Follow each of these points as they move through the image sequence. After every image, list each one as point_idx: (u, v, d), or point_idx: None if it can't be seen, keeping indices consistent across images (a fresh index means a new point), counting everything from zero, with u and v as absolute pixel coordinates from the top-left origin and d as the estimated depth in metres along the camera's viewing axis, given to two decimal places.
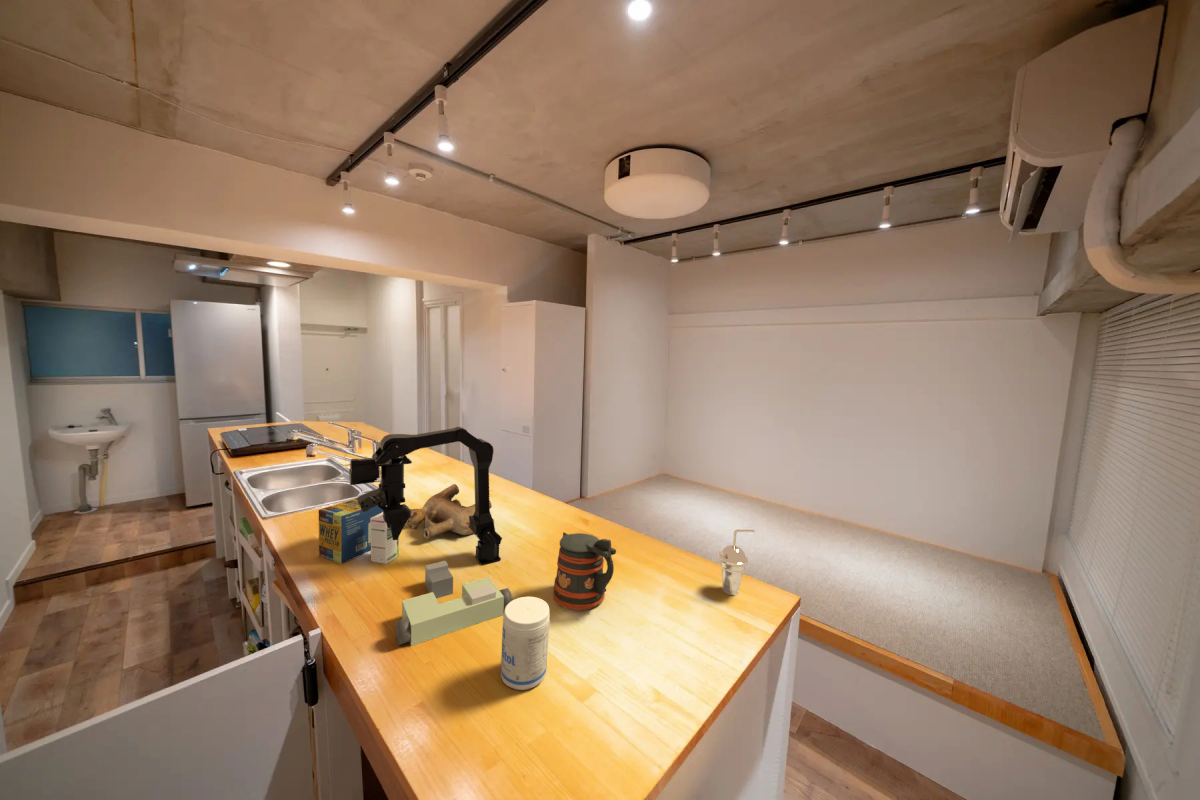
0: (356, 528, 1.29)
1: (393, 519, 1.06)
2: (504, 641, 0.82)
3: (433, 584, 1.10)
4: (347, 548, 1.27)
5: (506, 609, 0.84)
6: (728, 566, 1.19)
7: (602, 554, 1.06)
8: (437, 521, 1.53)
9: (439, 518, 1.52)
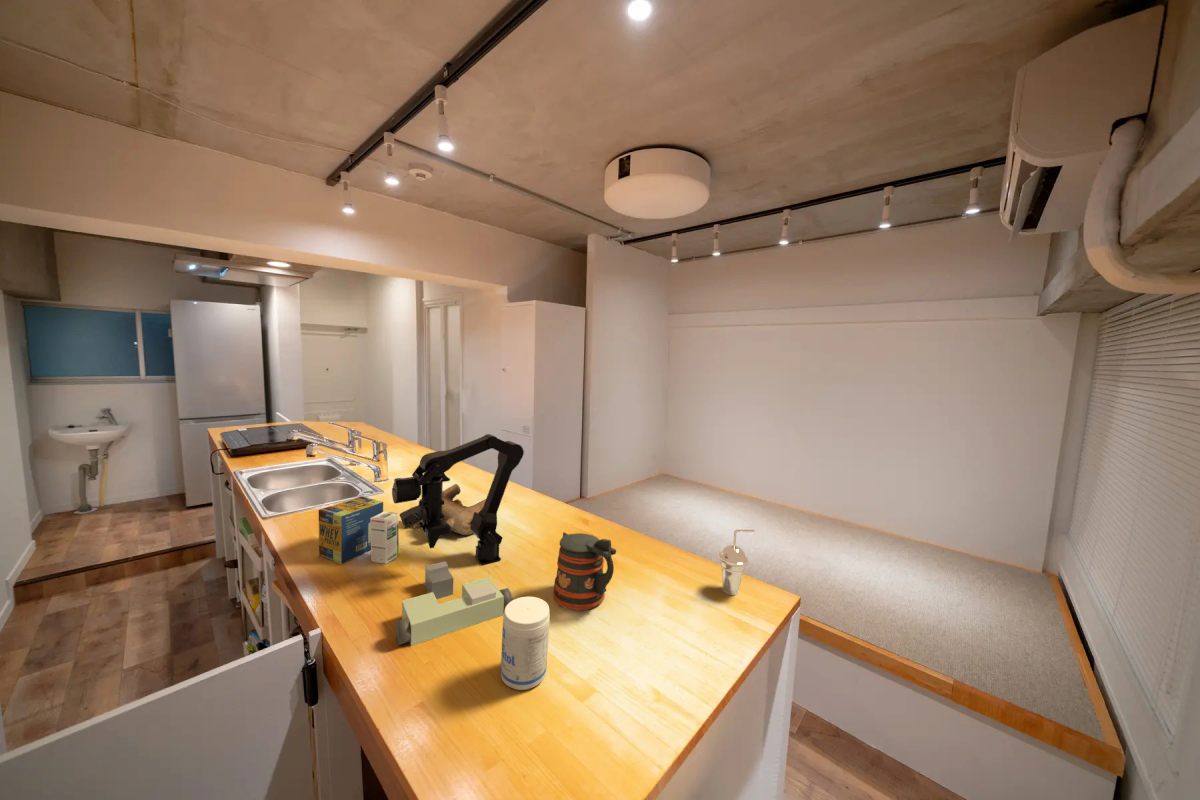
0: (356, 528, 1.29)
1: (435, 535, 1.12)
2: (504, 641, 0.82)
3: (433, 585, 1.09)
4: (347, 548, 1.27)
5: (506, 609, 0.84)
6: (728, 566, 1.19)
7: (602, 554, 1.06)
8: None
9: None
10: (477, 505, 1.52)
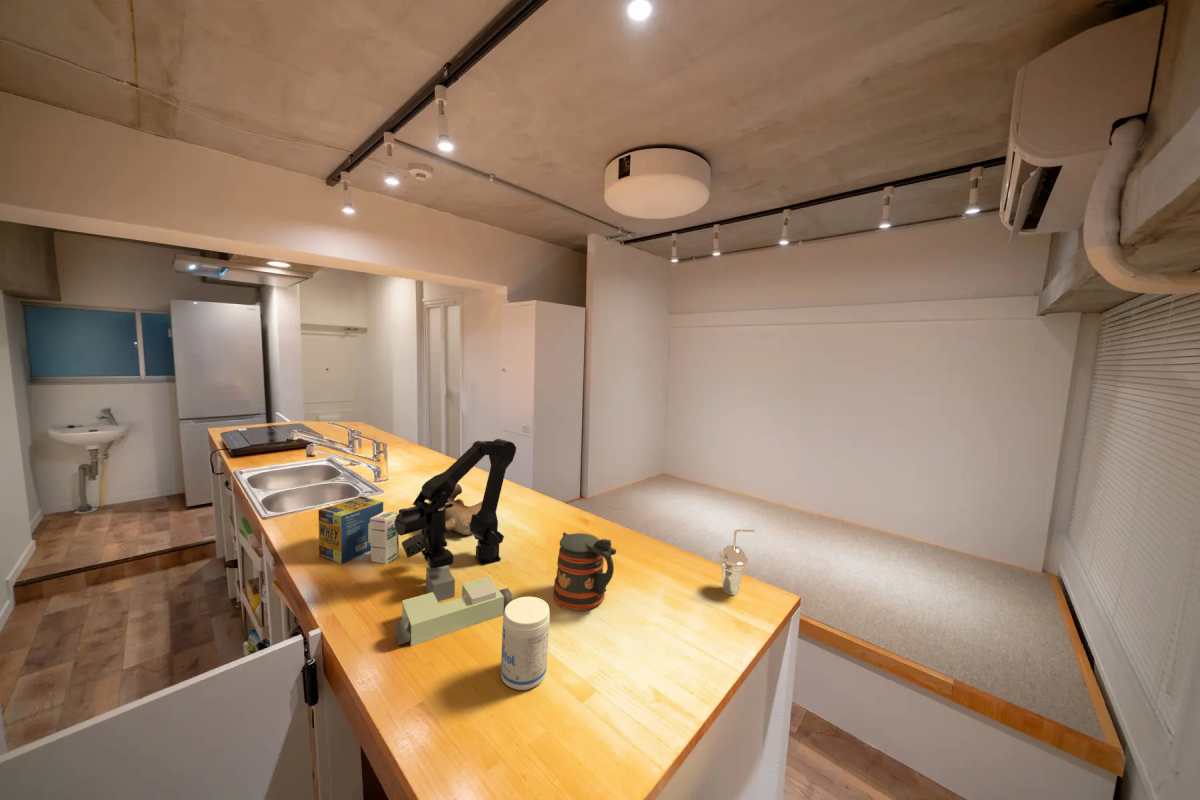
0: (356, 528, 1.29)
1: (438, 566, 1.09)
2: (504, 641, 0.82)
3: (435, 587, 1.08)
4: (347, 548, 1.27)
5: (506, 609, 0.84)
6: (728, 566, 1.19)
7: (602, 554, 1.06)
8: None
9: None
10: (478, 505, 1.52)
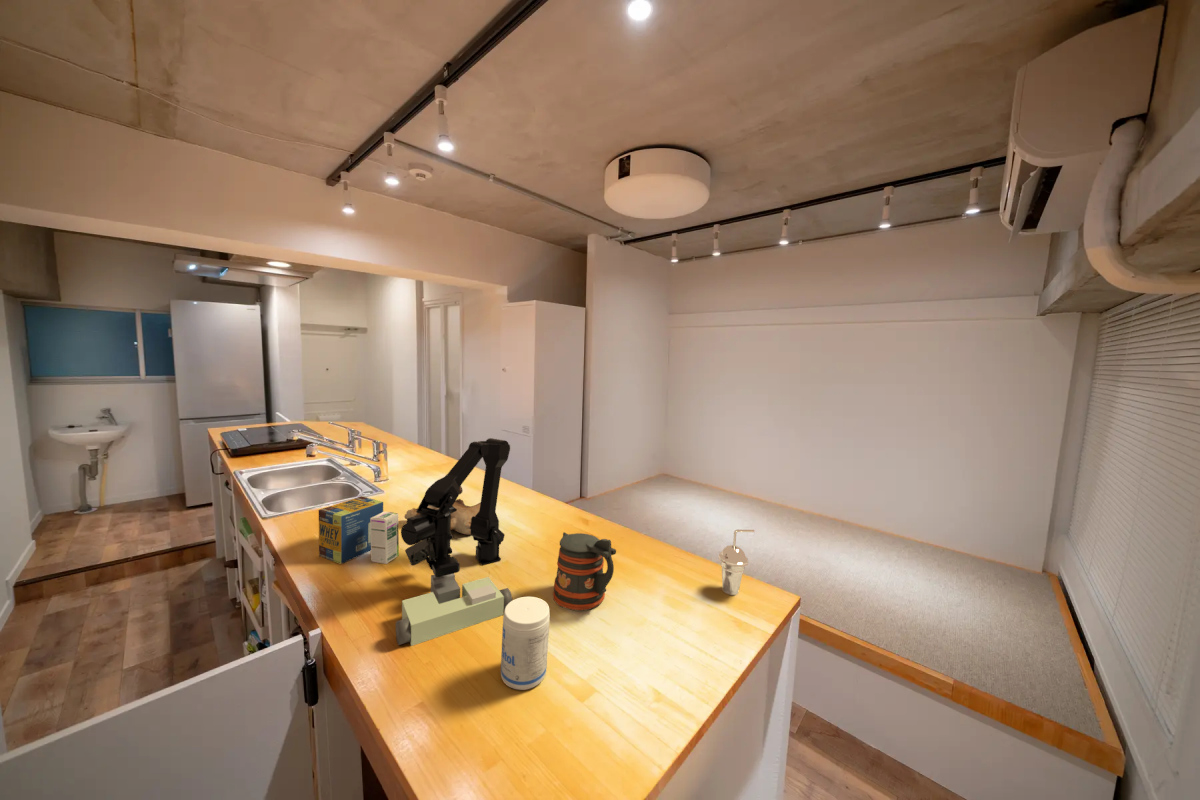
0: (356, 528, 1.29)
1: (443, 574, 1.06)
2: (504, 641, 0.82)
3: (439, 596, 1.04)
4: (347, 548, 1.27)
5: (506, 609, 0.84)
6: (728, 566, 1.19)
7: (602, 554, 1.06)
8: None
9: None
10: (479, 505, 1.52)
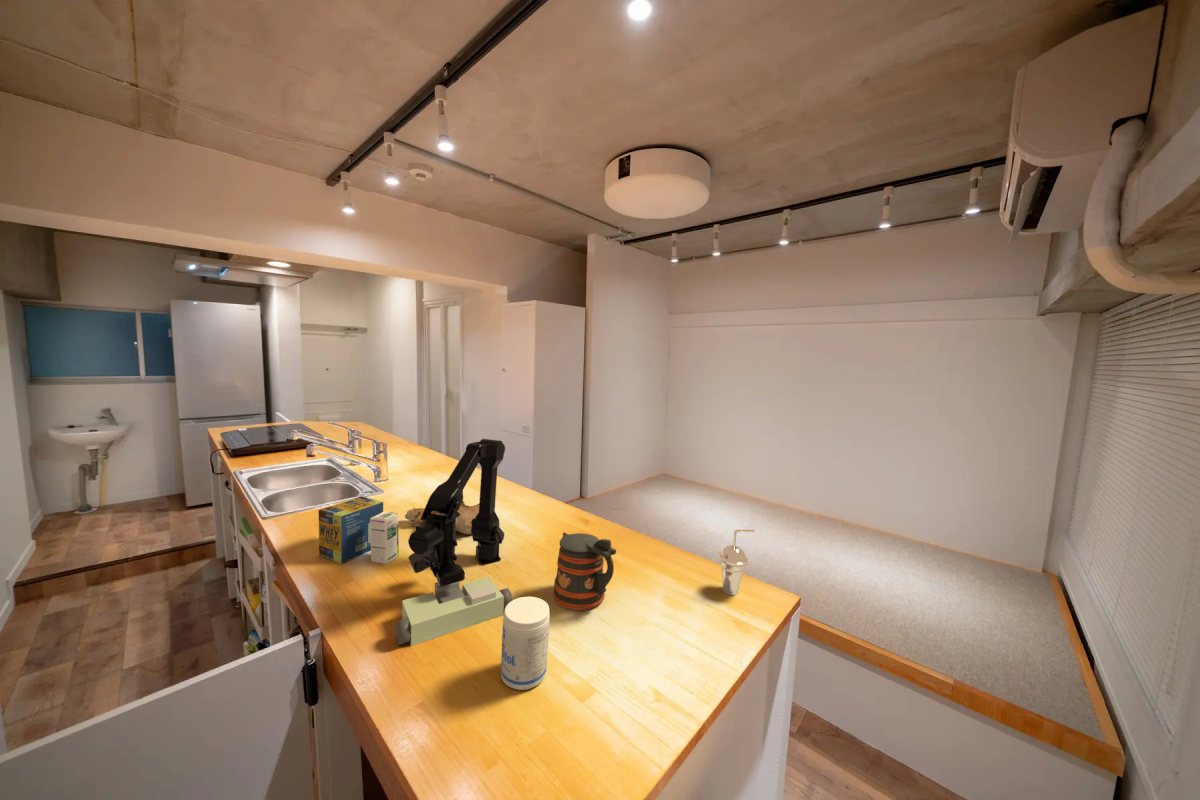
0: (356, 528, 1.29)
1: (448, 583, 1.02)
2: (504, 641, 0.82)
3: None
4: (347, 548, 1.27)
5: (506, 609, 0.84)
6: (728, 566, 1.19)
7: (602, 554, 1.06)
8: None
9: None
10: None
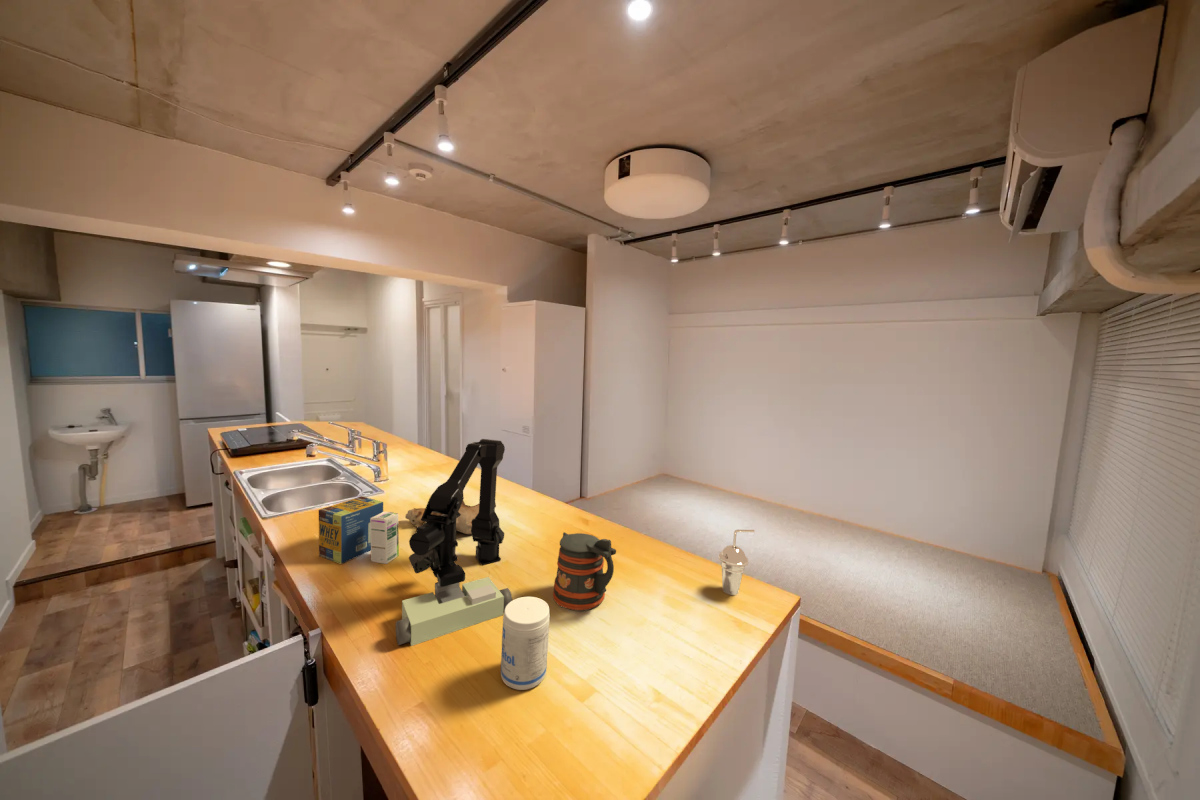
0: (356, 528, 1.29)
1: (448, 583, 1.02)
2: (504, 641, 0.82)
3: None
4: (347, 548, 1.27)
5: (506, 609, 0.84)
6: (728, 566, 1.19)
7: (602, 554, 1.06)
8: None
9: None
10: None
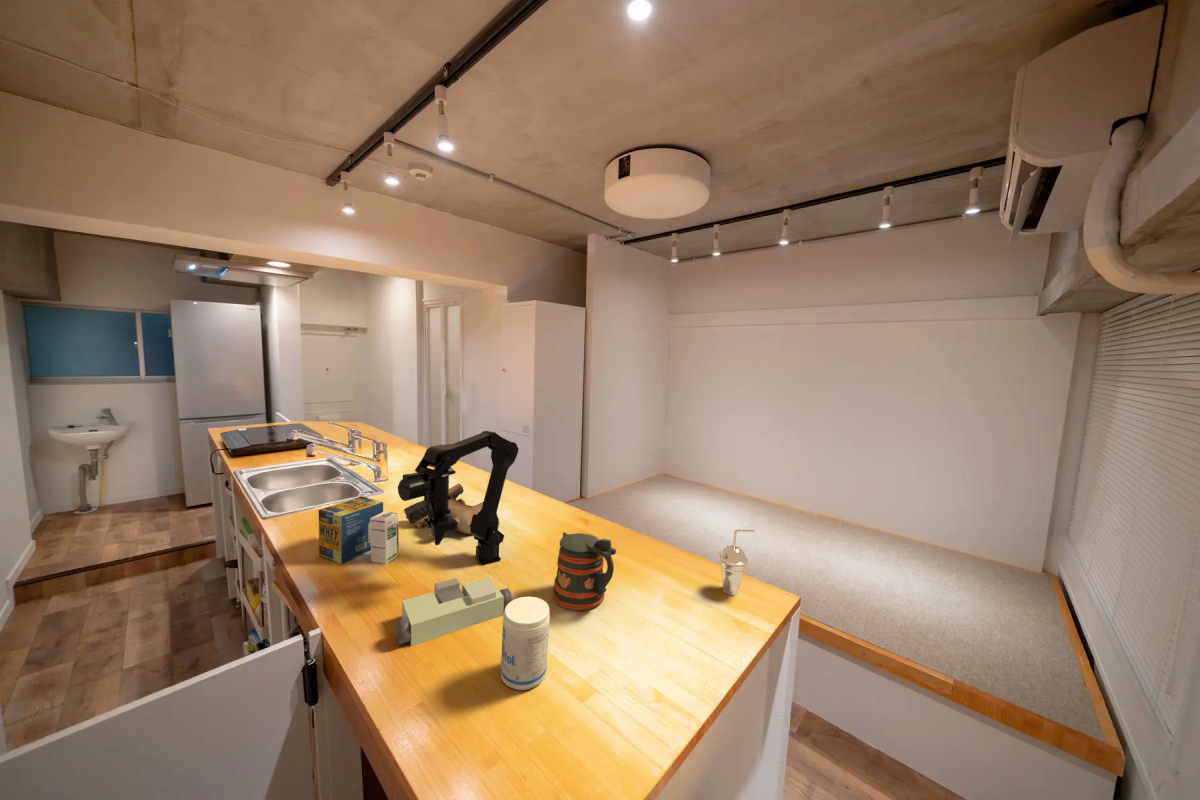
0: (356, 528, 1.29)
1: (442, 531, 1.07)
2: (504, 641, 0.82)
3: None
4: (347, 548, 1.27)
5: (506, 609, 0.84)
6: (728, 566, 1.19)
7: (602, 554, 1.06)
8: None
9: None
10: (481, 504, 1.53)
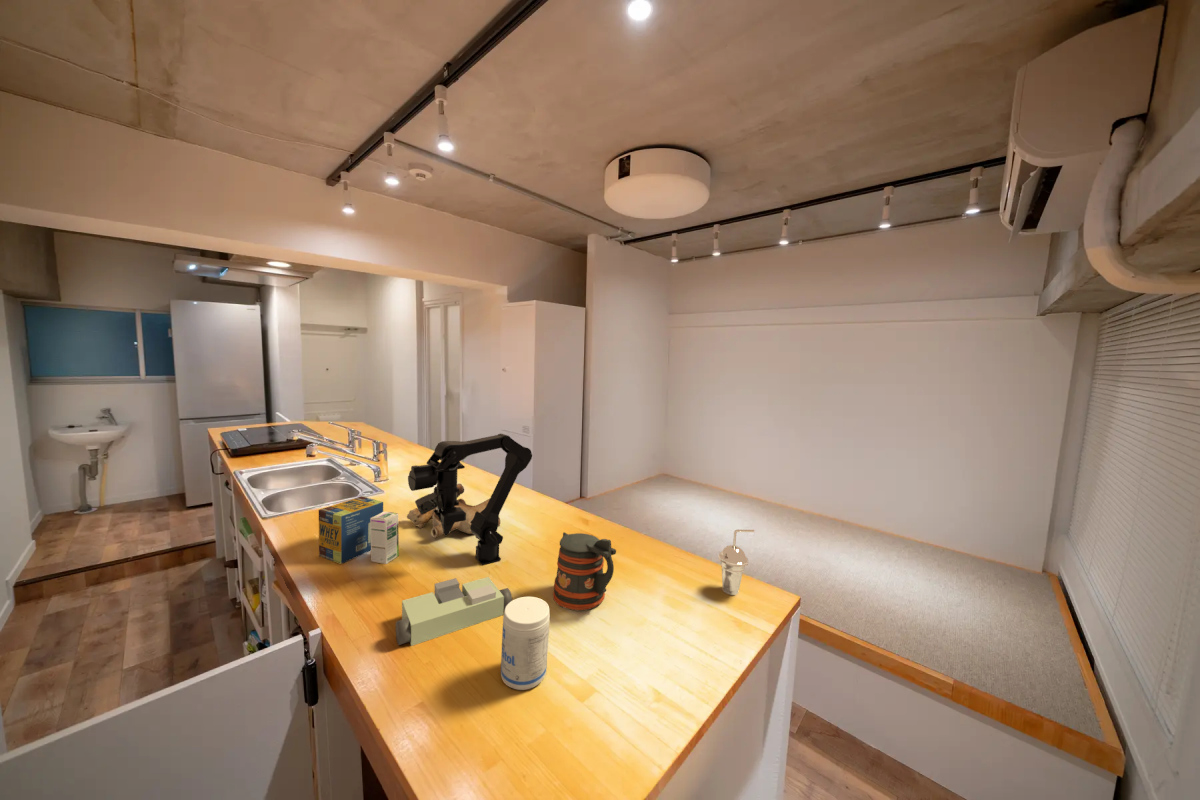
0: (356, 528, 1.29)
1: (451, 521, 1.13)
2: (504, 641, 0.82)
3: None
4: (347, 548, 1.27)
5: (506, 609, 0.84)
6: (728, 566, 1.19)
7: (602, 554, 1.06)
8: None
9: None
10: (483, 504, 1.53)
